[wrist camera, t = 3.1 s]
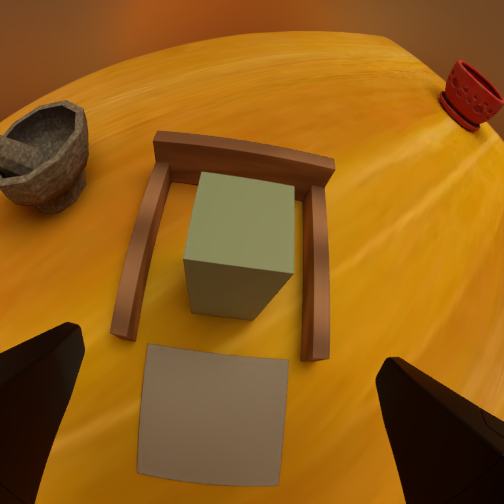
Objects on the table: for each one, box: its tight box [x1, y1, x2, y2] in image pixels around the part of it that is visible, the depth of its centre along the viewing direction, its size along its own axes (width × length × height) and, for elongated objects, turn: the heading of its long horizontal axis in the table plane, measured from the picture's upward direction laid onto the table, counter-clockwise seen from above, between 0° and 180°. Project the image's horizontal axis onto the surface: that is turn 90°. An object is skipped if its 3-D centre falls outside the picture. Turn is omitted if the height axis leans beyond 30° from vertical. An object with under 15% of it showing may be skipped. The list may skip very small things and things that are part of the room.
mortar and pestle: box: [0, 100, 89, 214], centre depth 17 cm, size 11×9×12 cm
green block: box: [183, 172, 294, 321], centre depth 17 cm, size 4×4×10 cm
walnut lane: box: [110, 131, 335, 361], centre depth 20 cm, size 15×14×5 cm
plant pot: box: [440, 60, 504, 131], centre depth 39 cm, size 13×13×12 cm
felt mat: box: [137, 343, 289, 486], centre depth 17 cm, size 10×10×1 cm
